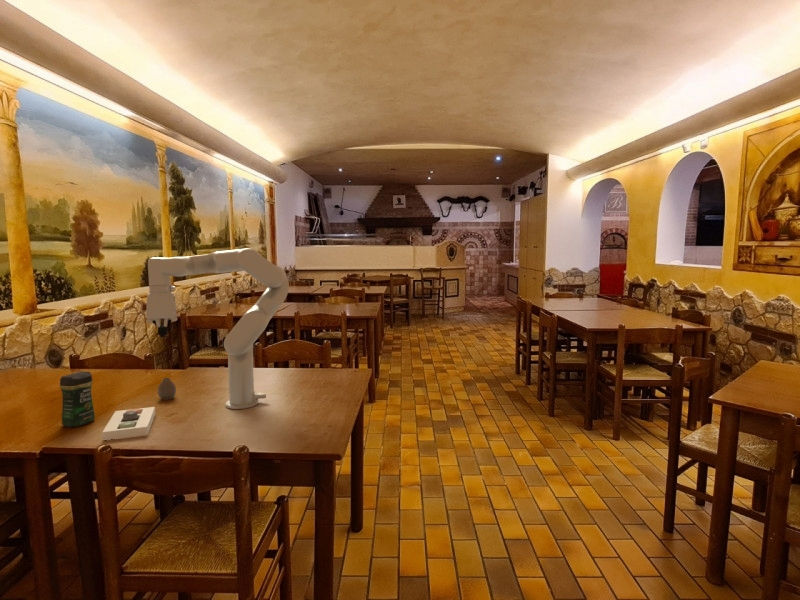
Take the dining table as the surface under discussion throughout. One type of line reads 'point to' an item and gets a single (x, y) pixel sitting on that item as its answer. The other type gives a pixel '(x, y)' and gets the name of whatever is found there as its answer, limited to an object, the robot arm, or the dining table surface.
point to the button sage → (127, 424)
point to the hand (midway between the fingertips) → (162, 336)
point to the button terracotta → (135, 410)
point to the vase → (166, 389)
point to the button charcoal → (130, 416)
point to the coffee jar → (77, 399)
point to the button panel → (139, 430)
